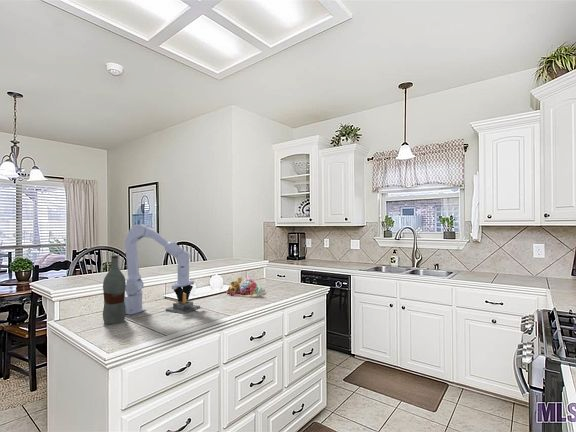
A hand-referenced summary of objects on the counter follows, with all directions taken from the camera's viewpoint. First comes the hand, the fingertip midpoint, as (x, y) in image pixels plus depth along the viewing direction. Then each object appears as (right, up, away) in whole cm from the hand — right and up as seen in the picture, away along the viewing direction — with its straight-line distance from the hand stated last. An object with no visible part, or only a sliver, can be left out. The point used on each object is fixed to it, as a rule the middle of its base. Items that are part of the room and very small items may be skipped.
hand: (183, 300), depth 170 cm
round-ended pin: (0, -3, 0) cm, 3 cm away
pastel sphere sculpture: (+28, -5, +39) cm, 48 cm away
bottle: (-25, -5, -21) cm, 33 cm away
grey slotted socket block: (0, -4, 0) cm, 4 cm away
